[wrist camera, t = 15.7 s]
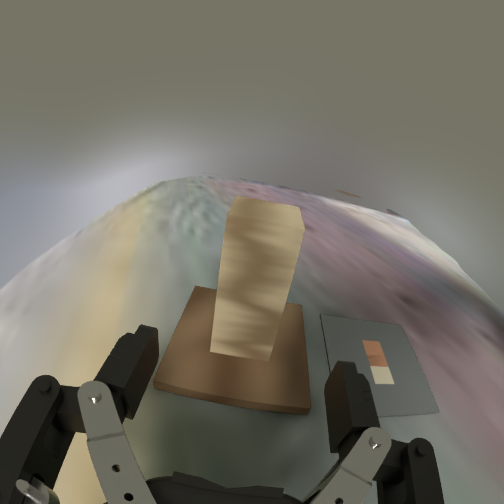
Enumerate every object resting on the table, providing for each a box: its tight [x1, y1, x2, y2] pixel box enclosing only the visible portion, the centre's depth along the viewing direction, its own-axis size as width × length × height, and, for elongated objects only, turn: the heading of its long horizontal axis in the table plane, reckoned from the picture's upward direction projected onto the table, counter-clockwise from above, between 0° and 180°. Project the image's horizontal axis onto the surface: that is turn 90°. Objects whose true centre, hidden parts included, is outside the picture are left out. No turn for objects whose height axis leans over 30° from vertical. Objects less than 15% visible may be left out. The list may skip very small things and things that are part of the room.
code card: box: [320, 314, 440, 417], centre depth 26 cm, size 11×14×1 cm
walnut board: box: [153, 286, 311, 415], centre depth 26 cm, size 12×14×1 cm
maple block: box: [210, 196, 305, 362], centre depth 23 cm, size 5×5×12 cm
